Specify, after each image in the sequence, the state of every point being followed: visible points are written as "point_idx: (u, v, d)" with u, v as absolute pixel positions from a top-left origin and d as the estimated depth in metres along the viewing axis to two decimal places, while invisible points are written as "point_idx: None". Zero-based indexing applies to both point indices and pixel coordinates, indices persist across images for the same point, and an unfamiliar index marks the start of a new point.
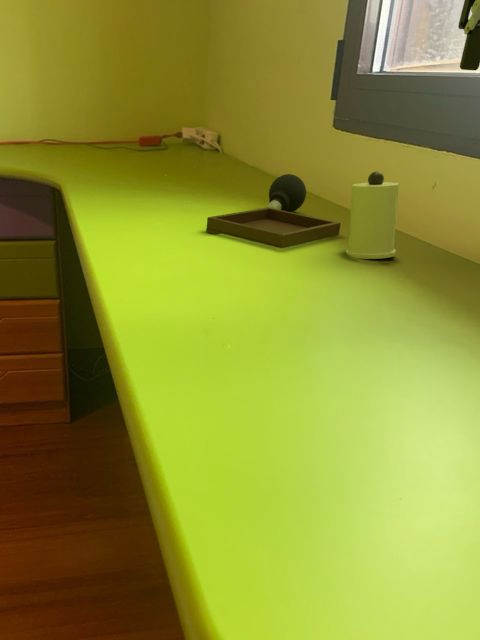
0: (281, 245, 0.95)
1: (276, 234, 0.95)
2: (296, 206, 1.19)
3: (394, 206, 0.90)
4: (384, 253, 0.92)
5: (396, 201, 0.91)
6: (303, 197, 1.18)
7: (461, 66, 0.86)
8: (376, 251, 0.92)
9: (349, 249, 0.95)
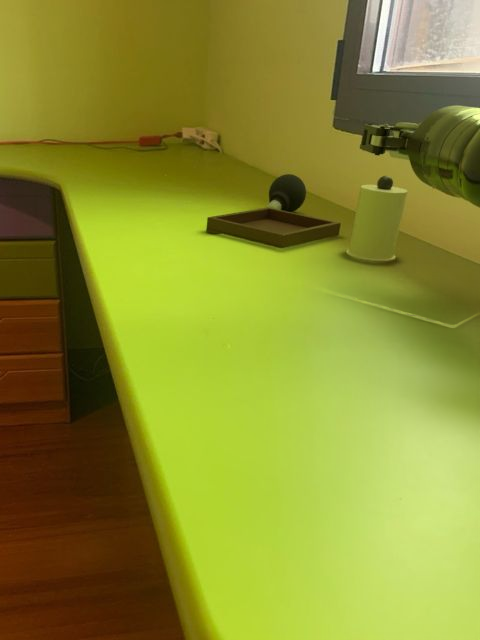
0: (281, 245, 0.95)
1: (276, 234, 0.95)
2: (296, 206, 1.19)
3: (400, 213, 0.90)
4: (384, 259, 0.92)
5: (402, 208, 0.90)
6: (303, 197, 1.18)
7: None
8: (376, 256, 0.92)
9: (350, 250, 0.95)
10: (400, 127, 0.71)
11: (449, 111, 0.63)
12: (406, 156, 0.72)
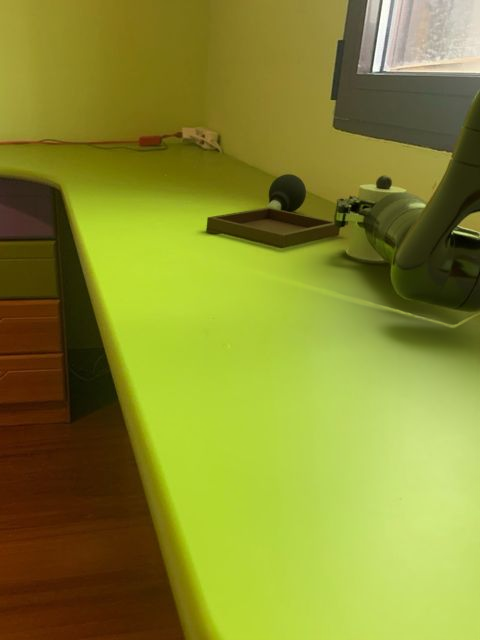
0: (281, 245, 0.95)
1: (276, 234, 0.95)
2: (296, 206, 1.19)
3: None
4: None
5: None
6: (303, 197, 1.18)
7: None
8: (376, 256, 0.92)
9: (349, 250, 0.95)
10: (362, 203, 0.88)
11: (394, 200, 0.79)
12: None
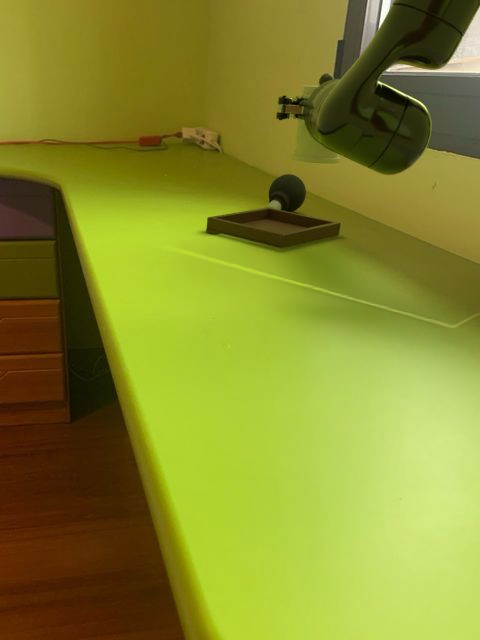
0: (281, 245, 0.95)
1: (276, 234, 0.95)
2: (296, 206, 1.19)
3: None
4: (328, 158, 0.93)
5: None
6: (303, 197, 1.18)
7: None
8: (320, 155, 0.93)
9: (295, 152, 0.95)
10: (304, 98, 0.89)
11: (329, 83, 0.79)
12: None
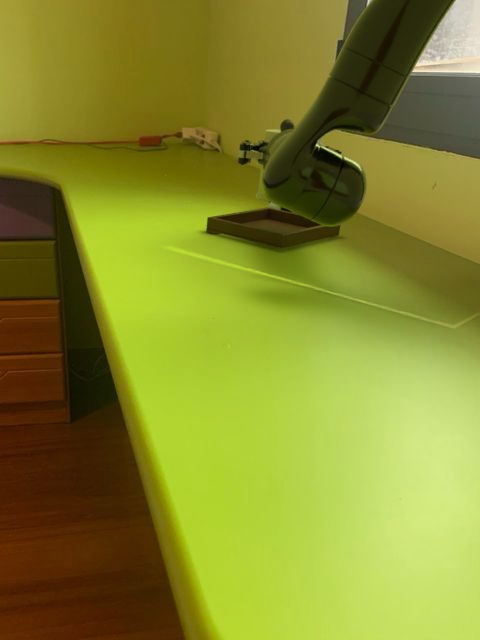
0: (281, 245, 0.95)
1: (276, 234, 0.95)
2: None
3: None
4: None
5: None
6: None
7: None
8: None
9: (258, 191, 1.01)
10: (264, 143, 0.95)
11: (284, 134, 0.85)
12: None
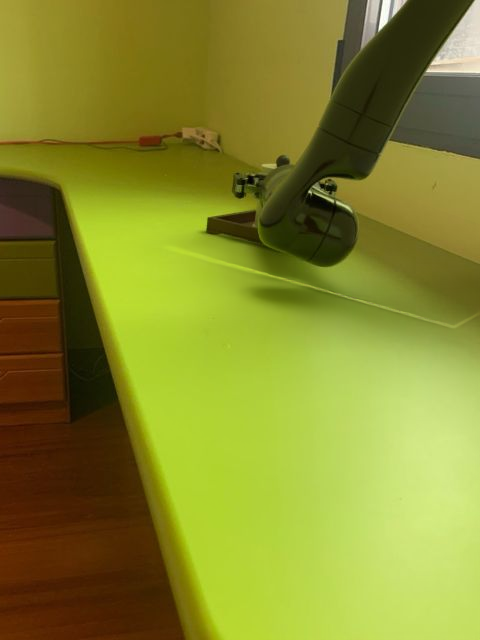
0: None
1: None
2: None
3: None
4: None
5: None
6: None
7: None
8: None
9: (255, 224, 1.04)
10: (258, 176, 0.96)
11: (279, 171, 0.88)
12: None
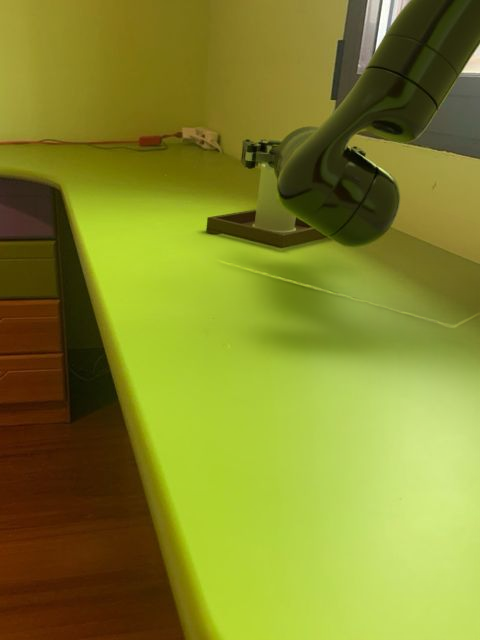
0: (281, 245, 0.95)
1: (276, 234, 0.95)
2: None
3: None
4: (284, 231, 1.02)
5: None
6: None
7: None
8: (277, 229, 1.01)
9: (255, 224, 1.04)
10: (272, 143, 0.82)
11: (298, 133, 0.74)
12: None
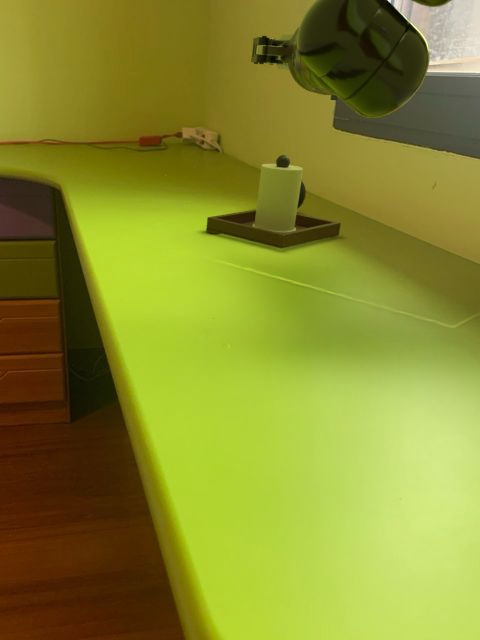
0: (281, 245, 0.95)
1: (276, 234, 0.95)
2: None
3: (296, 189, 0.99)
4: (284, 231, 1.02)
5: (298, 185, 0.99)
6: (303, 197, 1.18)
7: None
8: (277, 229, 1.01)
9: (255, 224, 1.04)
10: (284, 39, 0.77)
11: None
12: None
